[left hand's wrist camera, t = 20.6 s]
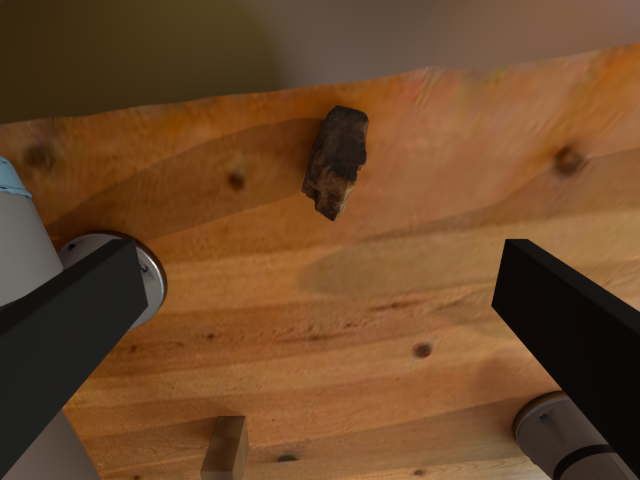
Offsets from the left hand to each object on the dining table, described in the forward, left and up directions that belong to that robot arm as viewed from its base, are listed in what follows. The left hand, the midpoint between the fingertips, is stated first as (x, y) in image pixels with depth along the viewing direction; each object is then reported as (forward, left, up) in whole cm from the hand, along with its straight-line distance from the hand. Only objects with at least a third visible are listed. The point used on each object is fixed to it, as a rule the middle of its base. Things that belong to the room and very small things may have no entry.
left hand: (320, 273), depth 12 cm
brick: (+1, -52, -34) cm, 62 cm away
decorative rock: (+2, 0, -34) cm, 34 cm away
